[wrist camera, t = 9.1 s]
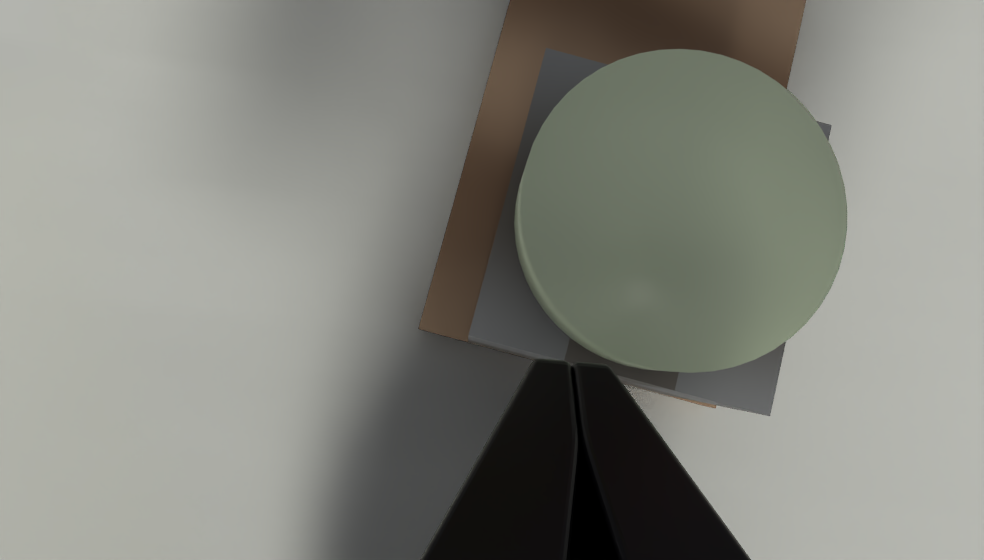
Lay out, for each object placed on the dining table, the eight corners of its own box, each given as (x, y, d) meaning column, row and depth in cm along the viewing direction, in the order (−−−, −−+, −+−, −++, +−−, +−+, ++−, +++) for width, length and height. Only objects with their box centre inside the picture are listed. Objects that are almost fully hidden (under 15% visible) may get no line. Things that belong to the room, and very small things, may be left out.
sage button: (698, 392, 16) (811, 410, 11) (478, 333, 16) (483, 323, 11) (746, 178, 17) (874, 96, 12) (535, 120, 17) (566, 12, 12)
